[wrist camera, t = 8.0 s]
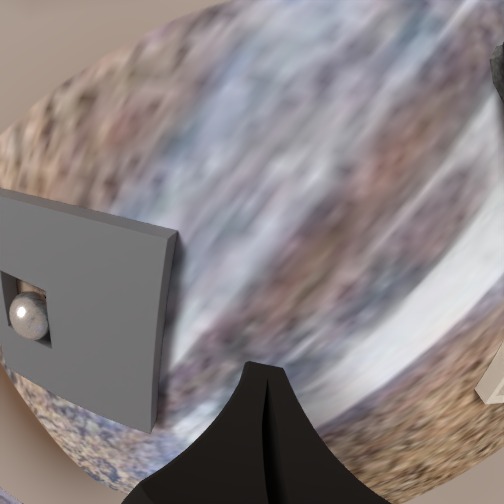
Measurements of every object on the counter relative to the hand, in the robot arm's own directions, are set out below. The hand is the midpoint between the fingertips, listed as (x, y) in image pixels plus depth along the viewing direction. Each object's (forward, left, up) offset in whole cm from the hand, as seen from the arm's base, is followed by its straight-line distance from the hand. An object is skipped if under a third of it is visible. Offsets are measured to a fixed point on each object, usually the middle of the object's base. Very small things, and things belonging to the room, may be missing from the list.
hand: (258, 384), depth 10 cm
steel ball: (-7, +17, -7) cm, 20 cm away
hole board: (-7, +15, -9) cm, 19 cm away
